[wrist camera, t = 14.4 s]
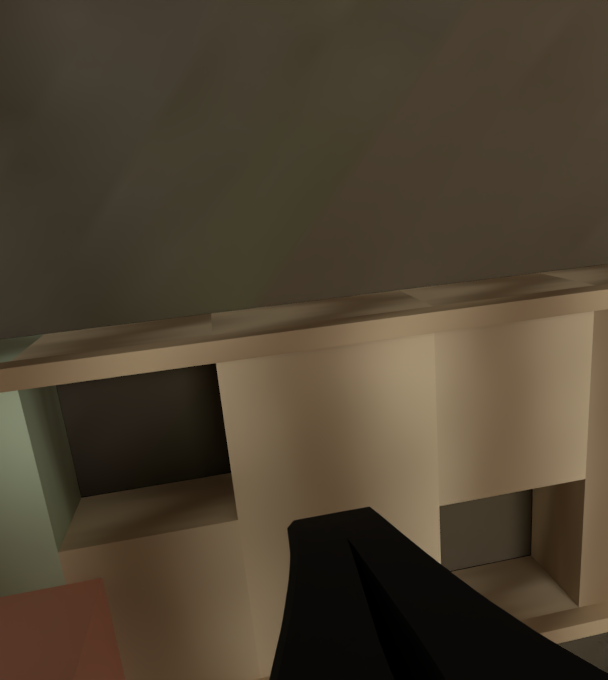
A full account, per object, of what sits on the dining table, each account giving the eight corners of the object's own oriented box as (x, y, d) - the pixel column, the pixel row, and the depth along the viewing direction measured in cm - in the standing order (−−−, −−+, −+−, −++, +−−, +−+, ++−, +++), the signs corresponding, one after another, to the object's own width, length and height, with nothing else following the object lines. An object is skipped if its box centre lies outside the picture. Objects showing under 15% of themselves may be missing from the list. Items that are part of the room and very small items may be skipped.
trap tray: (613, 263, 20) (743, 283, 15) (595, 554, 23) (698, 646, 18) (-120, 354, 16) (-258, 418, 11) (-18, 681, 19) (-91, 837, 15)
